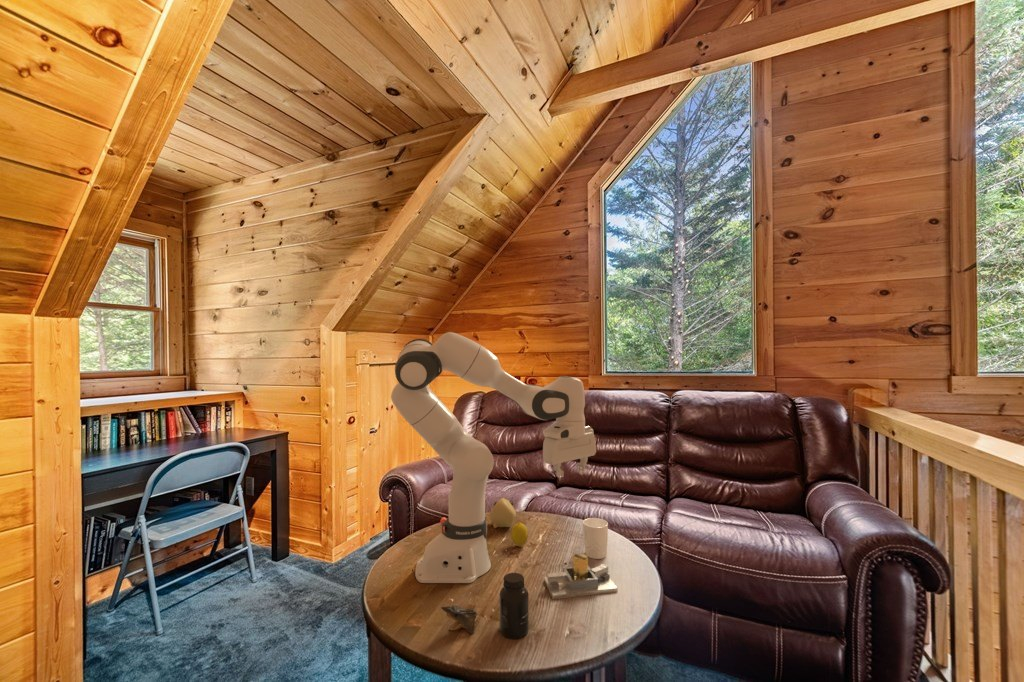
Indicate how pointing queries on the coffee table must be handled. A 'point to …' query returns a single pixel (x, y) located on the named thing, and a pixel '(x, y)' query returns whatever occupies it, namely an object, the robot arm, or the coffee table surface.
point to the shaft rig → (579, 583)
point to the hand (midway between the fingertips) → (570, 474)
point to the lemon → (519, 534)
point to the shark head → (461, 618)
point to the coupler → (580, 566)
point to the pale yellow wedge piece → (502, 513)
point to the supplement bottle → (514, 607)
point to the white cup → (595, 537)
